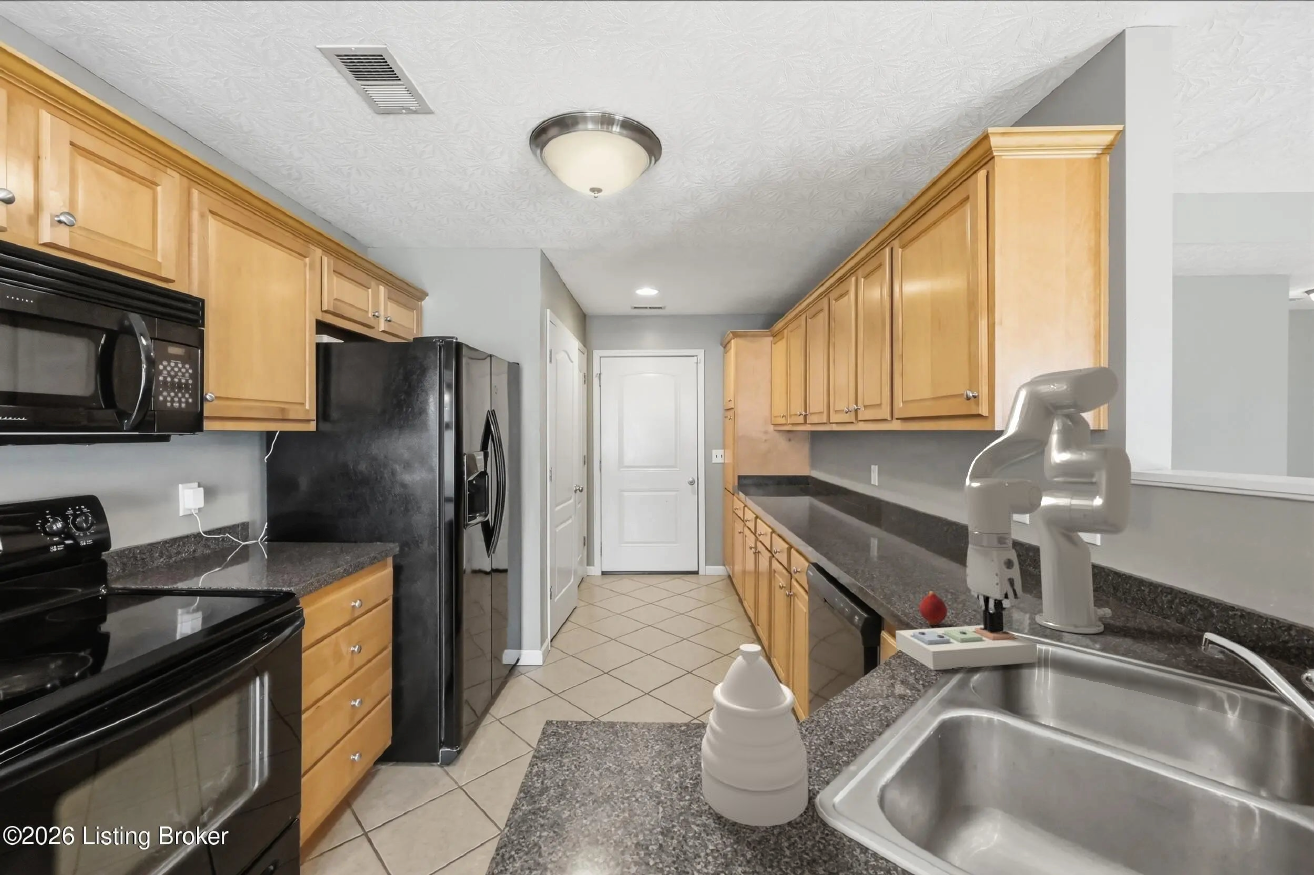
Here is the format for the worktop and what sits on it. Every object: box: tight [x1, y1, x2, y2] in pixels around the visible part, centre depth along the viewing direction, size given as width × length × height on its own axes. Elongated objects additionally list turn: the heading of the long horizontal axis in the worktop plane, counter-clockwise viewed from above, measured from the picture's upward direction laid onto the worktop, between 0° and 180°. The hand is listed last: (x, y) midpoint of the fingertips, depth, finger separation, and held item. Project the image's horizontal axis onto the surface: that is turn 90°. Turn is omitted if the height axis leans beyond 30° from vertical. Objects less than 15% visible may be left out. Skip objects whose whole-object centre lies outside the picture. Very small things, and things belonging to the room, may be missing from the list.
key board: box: [895, 625, 1038, 671], centre depth 107 cm, size 22×12×4 cm, turn 97°
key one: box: [944, 629, 983, 643], centre depth 107 cm, size 5×5×3 cm
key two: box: [913, 631, 950, 645], centre depth 106 cm, size 5×5×3 cm
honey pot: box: [700, 643, 809, 827], centre depth 65 cm, size 13×13×18 cm
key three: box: [975, 627, 1015, 641], centre depth 108 cm, size 5×5×3 cm
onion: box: [919, 590, 948, 626], centre depth 125 cm, size 6×6×8 cm
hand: (993, 630), depth 108 cm, fingers closed
